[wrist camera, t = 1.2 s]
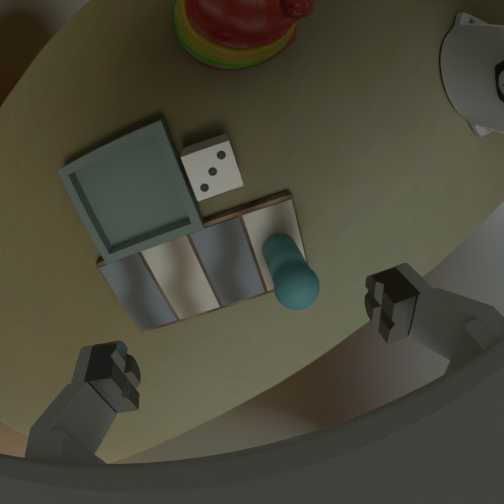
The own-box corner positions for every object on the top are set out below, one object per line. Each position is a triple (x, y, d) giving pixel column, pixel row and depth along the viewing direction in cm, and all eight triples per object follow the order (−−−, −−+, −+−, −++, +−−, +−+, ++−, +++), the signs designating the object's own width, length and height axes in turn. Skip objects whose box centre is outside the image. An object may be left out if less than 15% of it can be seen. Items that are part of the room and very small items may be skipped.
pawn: (292, 226, 34) (322, 274, 26) (300, 257, 37) (328, 309, 29) (255, 239, 35) (274, 291, 26) (265, 269, 37) (285, 324, 29)
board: (288, 190, 34) (292, 194, 32) (308, 273, 40) (311, 279, 39) (98, 258, 34) (95, 265, 33) (142, 326, 40) (141, 333, 39)
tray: (163, 117, 27) (161, 120, 25) (203, 219, 34) (203, 228, 32) (65, 164, 28) (57, 170, 25) (111, 253, 34) (106, 264, 32)
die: (225, 133, 29) (229, 140, 26) (237, 172, 32) (243, 185, 28) (183, 148, 29) (180, 157, 26) (197, 186, 32) (197, 201, 28)
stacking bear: (302, 34, 25) (407, -2, 10) (230, 95, 27) (270, 104, 12) (229, -32, 20) (265, -129, 5) (154, 29, 22) (102, -34, 7)
